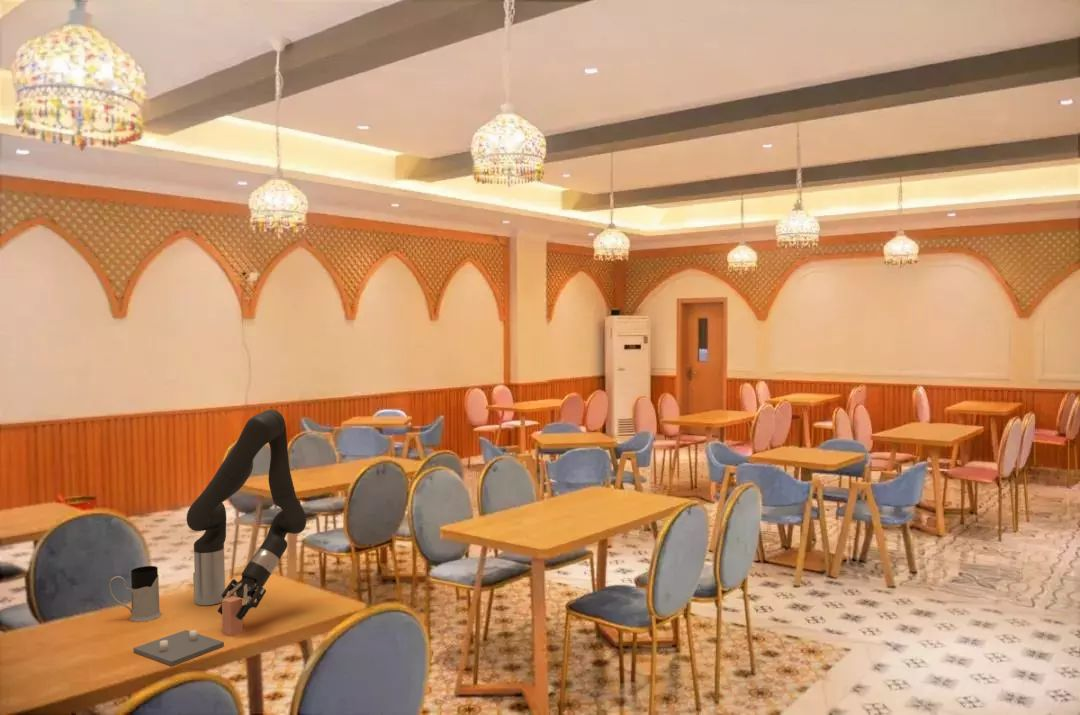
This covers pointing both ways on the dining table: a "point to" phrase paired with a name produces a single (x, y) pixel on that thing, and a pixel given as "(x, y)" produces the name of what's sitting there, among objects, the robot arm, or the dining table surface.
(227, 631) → the block
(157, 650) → the base plate
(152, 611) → the glass holder
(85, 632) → the dining table surface
